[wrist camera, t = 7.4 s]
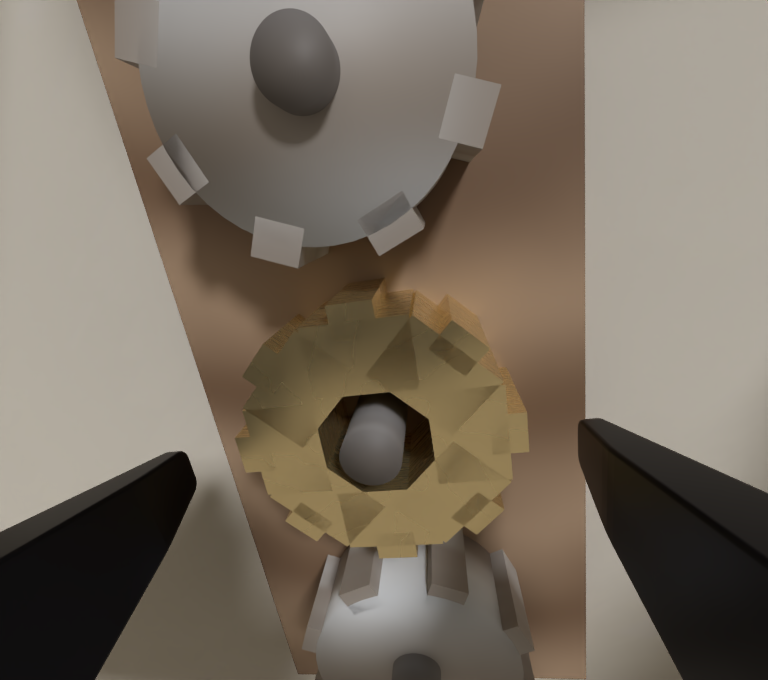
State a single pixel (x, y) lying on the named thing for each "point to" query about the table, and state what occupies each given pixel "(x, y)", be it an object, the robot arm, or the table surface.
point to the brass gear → (421, 447)
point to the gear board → (380, 260)
